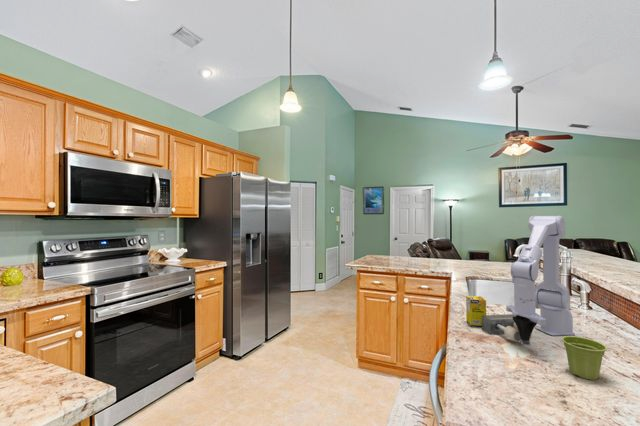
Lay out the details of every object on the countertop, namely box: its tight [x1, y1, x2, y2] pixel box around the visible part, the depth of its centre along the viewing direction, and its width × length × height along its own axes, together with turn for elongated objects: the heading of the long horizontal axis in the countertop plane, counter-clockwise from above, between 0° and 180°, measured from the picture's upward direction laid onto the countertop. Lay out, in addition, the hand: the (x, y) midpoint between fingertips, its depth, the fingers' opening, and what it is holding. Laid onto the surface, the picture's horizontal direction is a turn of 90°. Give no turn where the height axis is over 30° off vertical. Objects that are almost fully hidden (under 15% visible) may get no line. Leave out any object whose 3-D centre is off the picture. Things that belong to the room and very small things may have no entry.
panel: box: [481, 313, 516, 336], centre depth 115 cm, size 14×5×6 cm, turn 96°
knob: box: [495, 323, 522, 343], centre depth 108 cm, size 4×10×4 cm, turn 6°
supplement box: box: [465, 295, 487, 329], centre depth 122 cm, size 6×6×11 cm
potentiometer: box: [519, 340, 531, 345], centre depth 104 cm, size 4×3×4 cm
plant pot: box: [561, 335, 608, 380], centre depth 83 cm, size 9×9×9 cm
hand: (525, 339), depth 99 cm, fingers closed
